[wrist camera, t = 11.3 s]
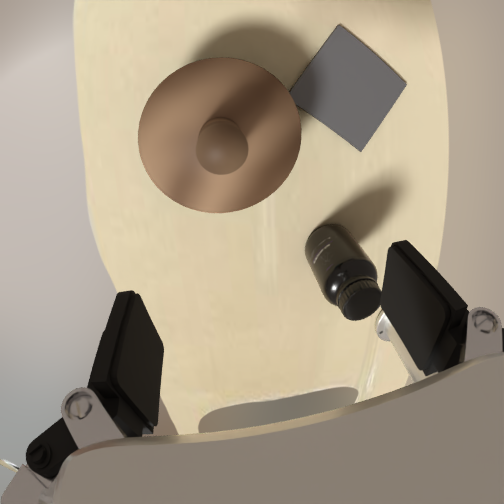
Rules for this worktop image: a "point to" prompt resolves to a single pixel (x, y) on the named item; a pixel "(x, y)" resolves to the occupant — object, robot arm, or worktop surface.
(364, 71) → the rubber mat
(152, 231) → the worktop surface
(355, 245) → the supplement bottle
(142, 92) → the worktop surface
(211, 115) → the walnut lid
